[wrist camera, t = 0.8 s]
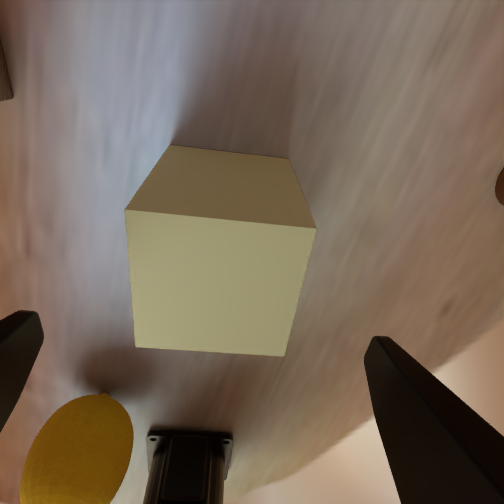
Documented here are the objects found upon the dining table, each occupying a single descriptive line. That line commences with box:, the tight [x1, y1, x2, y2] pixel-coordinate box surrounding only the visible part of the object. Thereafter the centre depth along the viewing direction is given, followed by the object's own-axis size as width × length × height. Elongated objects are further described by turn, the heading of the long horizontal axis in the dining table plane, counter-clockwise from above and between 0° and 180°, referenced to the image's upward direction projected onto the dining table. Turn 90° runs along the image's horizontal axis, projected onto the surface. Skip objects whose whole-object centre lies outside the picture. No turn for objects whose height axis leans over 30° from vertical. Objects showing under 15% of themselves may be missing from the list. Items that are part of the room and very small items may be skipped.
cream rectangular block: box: [125, 145, 317, 357], centre depth 13 cm, size 5×5×7 cm
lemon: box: [20, 393, 134, 504], centre depth 20 cm, size 6×6×8 cm
